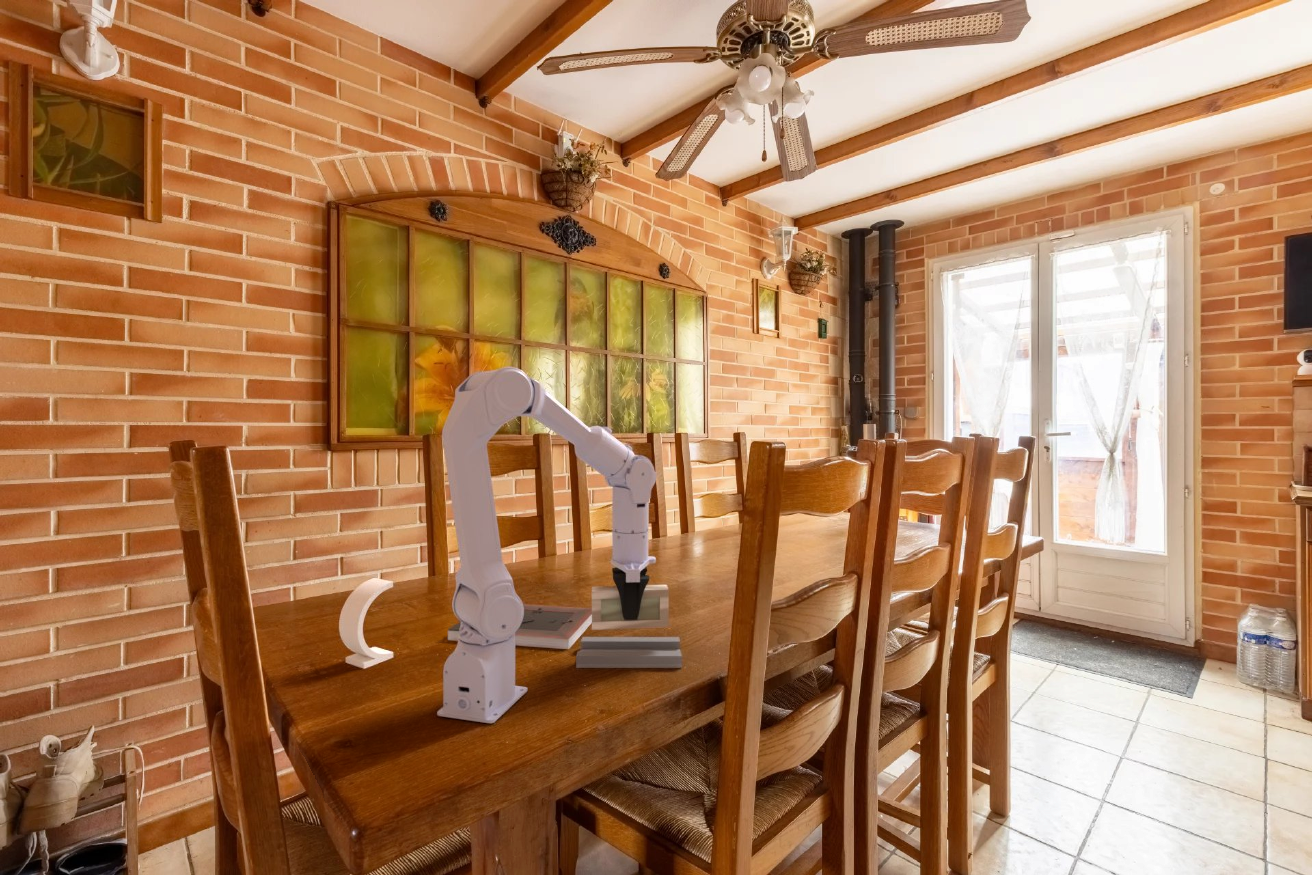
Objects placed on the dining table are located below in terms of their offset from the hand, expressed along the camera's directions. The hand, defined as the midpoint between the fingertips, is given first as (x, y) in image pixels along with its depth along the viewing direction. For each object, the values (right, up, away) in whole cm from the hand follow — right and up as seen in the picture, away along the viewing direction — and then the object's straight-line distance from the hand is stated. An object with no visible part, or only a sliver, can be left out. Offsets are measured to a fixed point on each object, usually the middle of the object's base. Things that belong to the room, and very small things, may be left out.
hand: (630, 615), depth 92 cm
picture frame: (-19, -7, +14) cm, 25 cm away
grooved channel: (0, -7, 0) cm, 7 cm away
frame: (0, -2, 0) cm, 2 cm away
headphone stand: (-41, -7, -2) cm, 41 cm away
